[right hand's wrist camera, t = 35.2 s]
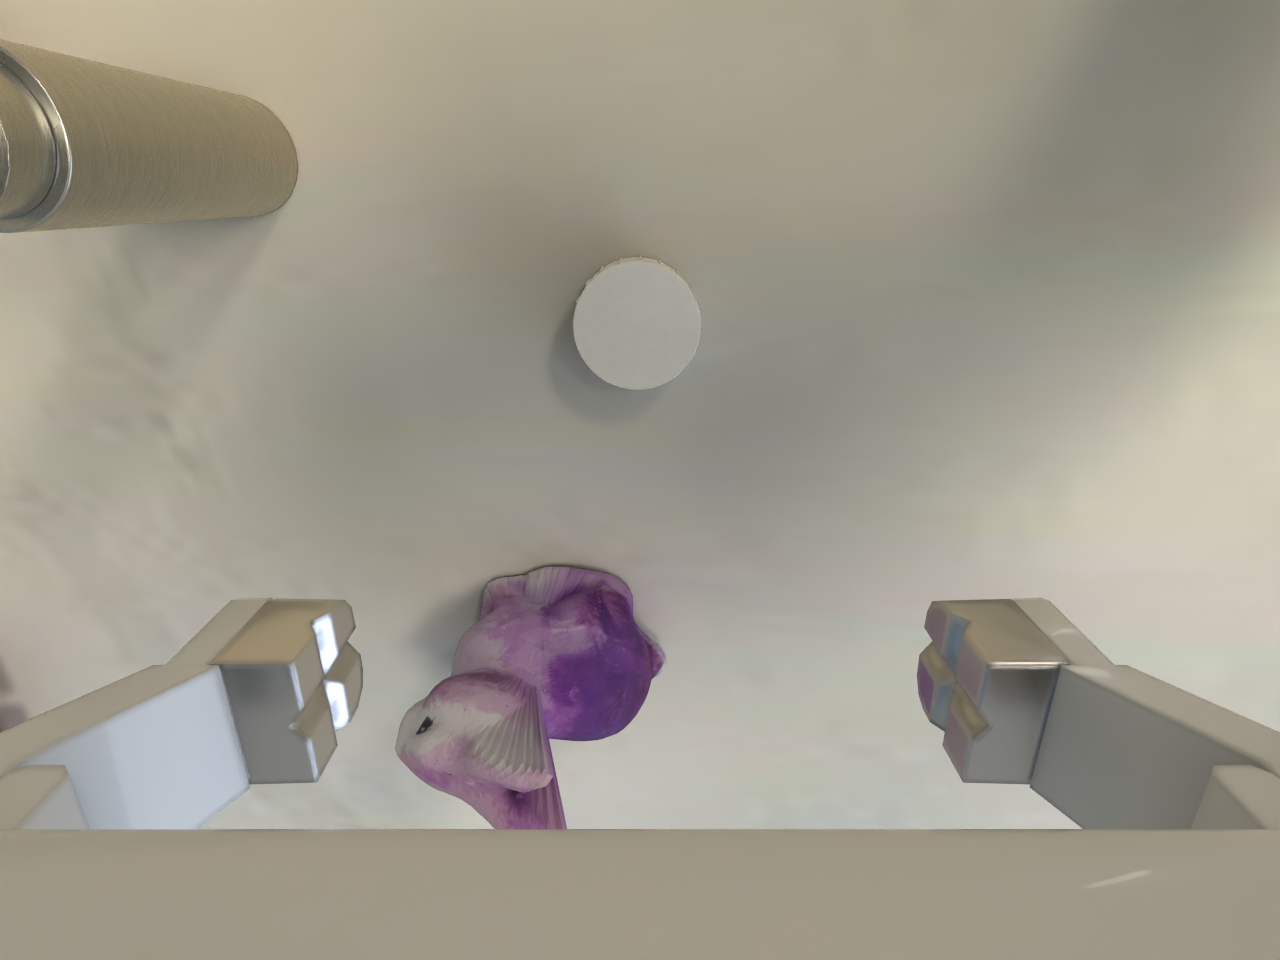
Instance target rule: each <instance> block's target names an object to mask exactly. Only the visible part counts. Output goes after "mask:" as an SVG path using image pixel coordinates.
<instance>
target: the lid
mask: <svg viewBox="0 0 1280 960" xmlns="http://www.w3.org/2000/svg"><path fill="white" fill-rule="evenodd" d="M585 285H586V286H585V288H584V290H583V292H582V293H581V295H580V296H579V297H578V299H577V300H576V304H577V305H576V307H575V312H574V318H573V321H572V323H573V333H574V339H575V343H576V346H577V349H578V351H579V353H580V356H581V357H582V359H583V361H584V362H585V364H586V365H587V366H588V367H589V369H590V370H591V371H592V372H593V373H595V374H596V375H597V376H598V377H599V378H601V379H602V380H604V381H606V382H607V383H609V384H611V385H614V386H617V387H620V388H624V389H631V390H644V389H650V388H654V387H658V386H660V385H663V384H665V383H667V382H668V381H670V380H672V379H673V378H675V377H676V376H677V375H679V374H680V373H681V372H682V371H683V370H684V369H685V367H686V366H687V365H688V364H689V362H690V361H691V359H692V357H693V356H694V354H695V351H696V350H697V346H698V343H699V339H700V333H701V331H702V328H701V319H700V312H699V310H700V307H699V305H698V303H697V302H696V300H695V297H694V295H693V293H692V291H693V290H692V288H691V286H690V285H688V284H687V283H686V282H685V280H684V279H683V278H682V277H681V276H680V274H679V272H678V270H676V271H675V270H674V269H672V268H671V267H669V266H668V265H666V264H664V263H662V261H661V260H660V259H659V261H657V260H654V259H650V258H645V257H642V255H639V257H629V258H623V259H622V257H620V258H619V260H617V261H614V262H612V263H610V264H608V265H606V266H605V267H604V265H603V266H602V267H601V269H600V270H599V271H598V272H597V273H596V274H595V275H594V276H593V277H592V278H591V279H588V280H587V282H586V284H585Z"/></svg>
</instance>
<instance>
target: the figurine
mask: <svg viewBox="0 0 1280 960" xmlns="http://www.w3.org/2000/svg"><path fill="white" fill-rule="evenodd" d="M483 596H484V599H483V603H482V604H483V606H482V607H481V608H482V610H481V614H480V616H481V618H480V621H479V622H477V623H476V624H474V625H473V626H472V627H470V628H469V629H468V630H467V631H466V632H465V634H464V635H463V636H462V638H461V640H460V642H459V644H458V647H457V650H456V653H455V657H454V661H453V666H452V675H451V677H449V678H447V679H444V680H443V681H441V682H440V683H439V684H437V685H436V686H435V687H434V688H433V689H432V691H431V692H430V694H429V695H428V696H427V697H426V698H424V699H423V700H421V701H419V702H418V703H416V704H415V705H413V706H412V707H411V708H410V709H409V710H408V711H407V712H406V714H405V716H404V717H403V719H402V721H401V724H400V728H399V734H398V738H397V741H396V747H395V749H396V753H397V755H398V757H399V758H400V759H401V760H402V761H403V763H404V764H405V765H406V766H407V767H408V768H409V769H410V770H411V771H412V772H413V773H414V774H415V775H416V776H417V777H418V778H420V779H421V780H422V781H424V782H425V783H426V784H428V785H430V786H431V787H433V788H435V789H437V790H439V791H442V792H445V793H447V794H450V795H452V796H455V797H457V798H459V799H462V800H463V801H465V802H466V803H468V804H469V805H470V806H472V807H473V808H474V809H475V810H476V811H477V812H478V813H479V814H480V815H481V816H483V817H484V818H485V819H486V820H487V821H488V822H489V823H490V824H491V825H492V826H493V827H494V828H495V829H567V826H566V822H565V817H564V812H563V807H562V802H561V797H560V792H559V787H558V782H557V777H556V772H555V767H554V762H553V757H552V753H551V748H550V743H549V739H560V740H570V741H591V740H599V739H603V738H606V737H609V736H611V735H614V734H617V733H618V732H620V731H621V730H623V729H624V728H625V727H626V726H627V725H628V724H629V723H630V722H631V721H632V719H633V718H634V717H635V716H636V715H637V713H638V711H639V710H640V708H641V706H642V705H643V703H644V701H645V699H646V696H647V694H648V691H649V687H650V683H651V679H653V678H654V677H655V676H656V675H658V674H659V673H661V672H662V670H663V668H664V667H665V664H666V656H665V653H664V651H663V649H662V648H661V647H660V646H659V645H658V644H656V643H655V642H654V641H652V640H651V639H650V638H649V637H648V636H647V635H646V634H645V633H644V632H643V631H641V629H640V628H639V627H638V626H637V624H636V623H635V621H634V619H633V597H632V594H631V591H630V589H629V588H628V586H627V585H626V584H625V583H624V582H622V581H621V580H620V579H618V578H617V577H615V576H613V575H611V574H609V573H606V572H600V571H594V570H587V569H581V568H574V567H567V566H557V567H550V566H546V567H543V568H540V569H538V570H535V571H532V572H529V573H528V574H526V575H519V576H515V577H502V578H497V579H495V580H492V581H490V582H489V583H488V584H487V587H485V589H484V593H483Z"/></svg>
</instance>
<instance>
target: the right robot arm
mask: <svg viewBox="0 0 1280 960" xmlns="http://www.w3.org/2000/svg"><path fill="white" fill-rule="evenodd" d="M355 628H356V626H355V621H354V617H353V612H352V607H351V606H350V605H349V604H348V603H347V602H346V601H345V600H321V599H272V598H248V599H236V600H231V601H230V602H229V603H228V604H227V605H226V606H225V607H224V608H223V609H222V610H221V611H220V612H219V613H218V614H217V615H216V616H215V617H214V618H213V619H212V620H211V621H210V622H209V623H208V624H207V625H206V626H205V627H204V628H203V629H202V630H201V631H199V632H198V633H197V634H196V635H195V636H194V637H193V638H192V639H191V640H190V641H189V642H188V643H187V644H186V645H185V646H184V647H183V648H182V649H181V650H180V651H179V652H178V653H177V654H176V655H175V656H174V657H173V658H172V659H171V660H170V661H169V662H168V663H167V664H166V665H153V666H150V667H148V668H146V669H144V670H141V671H139V672H137V673H134V674H132V675H130V676H128V677H125V678H123V679H121V680H118V681H116V682H114V683H112V684H109V685H107V686H105V687H102V688H100V689H98V690H96V691H93V692H91V693H89V694H86V695H84V696H82V697H80V698H77V699H75V700H73V701H71V702H68V703H66V704H64V705H61V706H59V707H57V708H55V709H52V710H50V711H48V712H45V713H43V714H41V715H39V716H36V717H34V718H32V719H29V720H27V721H25V722H23V723H20V724H18V725H16V726H13V727H11V728H9V729H7V730H4V731H2V732H0V960H1280V732H1278V731H1275V730H1273V729H1271V728H1268V727H1266V726H1264V725H1262V724H1259V723H1257V722H1255V721H1253V720H1250V719H1248V718H1246V717H1243V716H1241V715H1239V714H1237V713H1234V712H1232V711H1230V710H1227V709H1225V708H1223V707H1221V706H1218V705H1216V704H1214V703H1212V702H1209V701H1207V700H1205V699H1202V698H1200V697H1198V696H1196V695H1193V694H1191V693H1189V692H1187V691H1184V690H1182V689H1180V688H1177V687H1175V686H1173V685H1171V684H1168V683H1166V682H1164V681H1161V680H1159V679H1157V678H1155V677H1152V676H1150V675H1148V674H1146V673H1143V672H1141V671H1139V670H1136V669H1134V668H1132V667H1130V666H1127V665H1114V664H1113V663H1112V662H1111V661H1110V660H1109V659H1108V658H1107V657H1106V656H1105V655H1104V654H1103V653H1102V652H1101V651H1100V650H1099V649H1098V648H1097V647H1096V646H1095V645H1094V644H1093V643H1092V642H1091V641H1090V640H1089V639H1088V638H1087V637H1086V636H1085V635H1084V634H1083V633H1082V632H1081V631H1080V630H1079V629H1078V628H1077V627H1076V626H1075V625H1074V624H1073V623H1072V622H1071V621H1070V620H1069V619H1068V618H1067V617H1065V616H1064V615H1063V614H1062V613H1061V612H1060V611H1059V610H1058V609H1057V608H1056V607H1055V606H1054V605H1053V604H1052V603H1051V602H1050V601H1048V600H1045V599H1042V598H1023V599H989V600H949V601H932V603H931V605H930V607H929V609H928V611H927V615H926V621H925V626H924V628H925V629H926V631H927V632H928V634H929V636H930V637H931V639H932V640H933V641H932V642H931V643H930V644H929V645H928V646H927V647H926V648H925V650H924V651H923V652H922V653H921V654H920V656H919V663H918V671H917V681H918V693H919V697H920V701H921V704H922V707H923V710H924V712H925V714H926V716H927V717H928V719H929V721H930V722H931V723H932V724H934V725H935V726H937V727H938V728H940V729H941V730H943V731H945V735H944V740H943V747H944V749H945V751H946V752H947V754H948V756H949V758H950V760H951V761H952V763H953V765H954V767H955V769H956V770H957V772H958V774H959V776H960V778H961V779H962V781H963V782H964V783H1001V784H1030V788H1031V789H1033V790H1034V791H1035V792H1036V793H1038V794H1039V795H1040V796H1042V797H1043V798H1044V799H1045V800H1047V801H1048V802H1049V803H1051V804H1052V805H1053V806H1054V807H1056V808H1057V809H1058V810H1060V811H1061V812H1062V813H1063V814H1065V815H1066V816H1067V817H1069V818H1070V819H1071V820H1072V821H1074V822H1075V823H1076V824H1077V825H1079V826H1080V827H1081V828H1083V829H198V828H199V827H200V826H201V825H203V824H204V823H205V822H207V821H208V820H209V819H210V818H212V817H213V816H214V815H216V814H217V813H218V812H219V811H221V810H222V809H223V808H225V807H226V806H227V805H228V804H230V803H231V802H232V801H234V800H235V799H236V798H237V797H239V796H240V795H241V794H243V793H244V792H245V791H246V790H248V789H249V788H250V784H278V783H313V782H317V781H318V780H319V778H320V776H321V774H322V772H323V770H324V769H325V767H326V765H327V763H328V761H329V760H330V758H331V756H332V754H333V752H334V751H335V749H336V747H337V740H336V735H335V731H337V730H339V729H340V728H342V727H343V726H345V725H346V724H348V723H349V722H350V721H351V719H352V717H353V715H354V714H355V712H356V710H357V708H358V704H359V700H360V696H361V691H362V687H363V668H362V662H361V655H360V654H359V653H358V652H357V651H356V650H355V648H354V647H353V646H352V645H351V644H350V643H349V642H348V641H347V640H348V639H349V637H350V636H351V634H352V632H353V631H354V629H355Z"/></svg>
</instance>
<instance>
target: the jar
mask: <svg viewBox="0 0 1280 960" xmlns="http://www.w3.org/2000/svg"><path fill="white" fill-rule="evenodd" d="M296 178H297V156H296V152H295V148H294V145H293V142H292V140H291V138H290V136H289V134H288V132H287V130H286V129H285V127H284V125H283V124H282V123H281V122H280V120H279V119H278V118H277V117H276V116H275V115H274V114H273V113H272V112H271V111H270V110H269V109H267V108H266V107H265V106H263V105H261V104H260V103H258V102H256V101H254V100H252V99H250V98H247V97H244V96H240V95H235V94H231V93H227V92H223V91H218V90H214V89H210V88H205V87H201V86H197V85H193V84H188V83H184V82H180V81H176V80H171V79H167V78H163V77H159V76H154V75H150V74H146V73H142V72H137V71H133V70H129V69H125V68H120V67H116V66H112V65H108V64H103V63H99V62H95V61H90V60H86V59H82V58H78V57H73V56H69V55H65V54H61V53H56V52H52V51H48V50H44V49H39V48H35V47H31V46H27V45H22V44H18V43H14V42H10V41H5V40H1V39H0V233H16V232H30V231H45V230H60V229H74V228H89V227H103V226H118V225H132V224H147V223H162V222H176V221H191V220H205V219H220V218H234V217H249V216H260V215H264V214H268V213H270V212H273V211H274V210H276V209H278V208H279V207H280V206H281V205H283V204H284V203H285V201H286V200H287V199H288V198H289V196H290V195H291V193H292V191H293V188H294V186H295V182H296Z"/></svg>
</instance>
